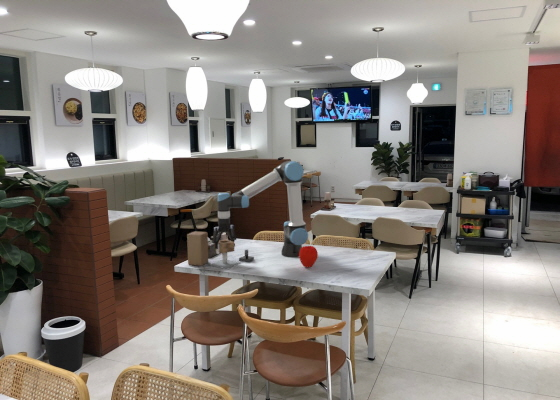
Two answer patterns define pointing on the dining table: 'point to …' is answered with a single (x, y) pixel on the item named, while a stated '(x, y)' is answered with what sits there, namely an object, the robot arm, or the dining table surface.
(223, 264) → the hub
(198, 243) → the wooden block
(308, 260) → the apple
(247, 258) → the stand
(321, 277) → the dining table surface
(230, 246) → the collar
